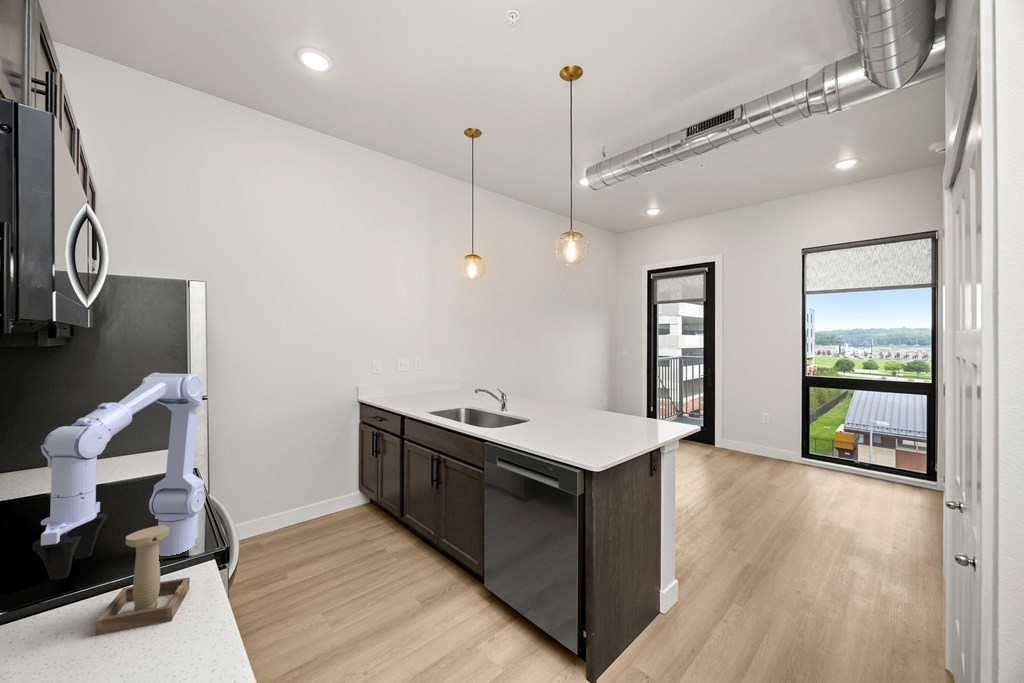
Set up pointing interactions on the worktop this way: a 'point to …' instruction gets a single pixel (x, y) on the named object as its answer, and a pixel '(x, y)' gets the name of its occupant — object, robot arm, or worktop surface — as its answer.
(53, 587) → the worktop surface
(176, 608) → the collar
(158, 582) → the handle
